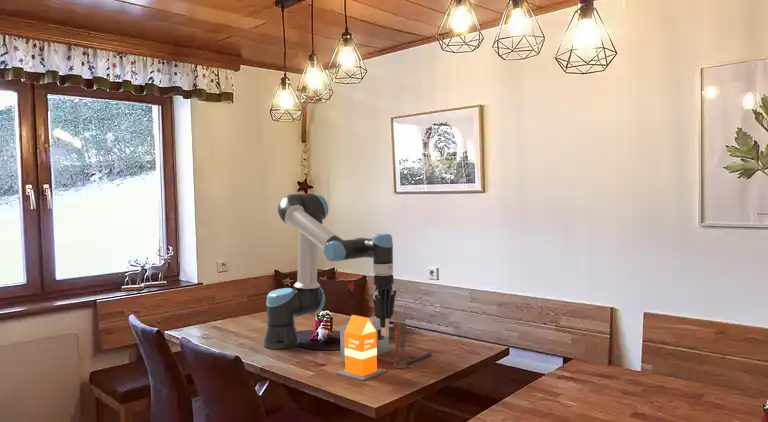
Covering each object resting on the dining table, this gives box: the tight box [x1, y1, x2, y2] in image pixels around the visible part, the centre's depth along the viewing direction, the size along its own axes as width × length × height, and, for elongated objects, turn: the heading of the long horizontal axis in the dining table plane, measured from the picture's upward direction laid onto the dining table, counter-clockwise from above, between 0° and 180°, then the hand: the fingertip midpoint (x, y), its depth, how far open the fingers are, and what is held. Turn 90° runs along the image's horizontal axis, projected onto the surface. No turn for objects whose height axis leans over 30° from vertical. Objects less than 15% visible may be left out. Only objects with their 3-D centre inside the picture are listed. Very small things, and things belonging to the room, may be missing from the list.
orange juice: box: [344, 314, 378, 376], centre depth 208 cm, size 8×9×20 cm
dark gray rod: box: [405, 351, 433, 366], centre depth 223 cm, size 1×16×1 cm, turn 140°
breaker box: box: [339, 315, 390, 364], centre depth 228 cm, size 7×22×14 cm, turn 141°
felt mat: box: [335, 367, 387, 382], centre depth 209 cm, size 13×13×1 cm
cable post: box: [392, 322, 408, 370], centre depth 215 cm, size 5×5×16 cm
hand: (385, 335), depth 222 cm, fingers closed
